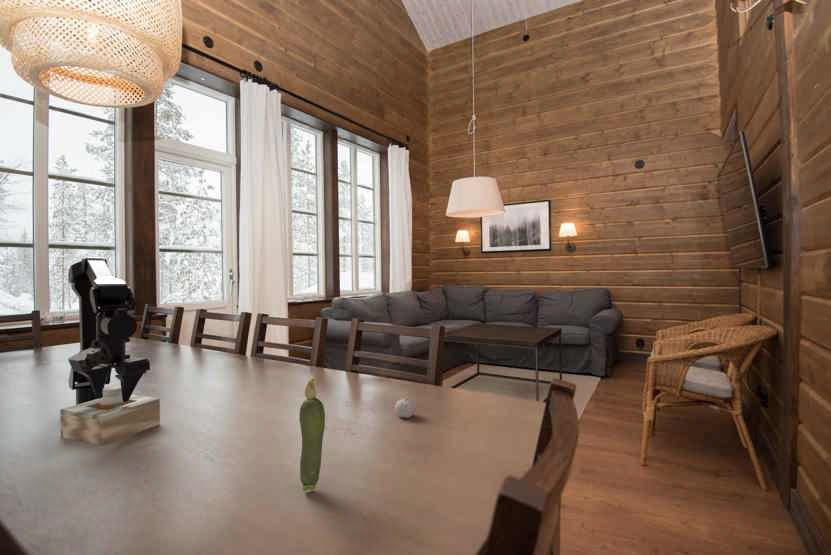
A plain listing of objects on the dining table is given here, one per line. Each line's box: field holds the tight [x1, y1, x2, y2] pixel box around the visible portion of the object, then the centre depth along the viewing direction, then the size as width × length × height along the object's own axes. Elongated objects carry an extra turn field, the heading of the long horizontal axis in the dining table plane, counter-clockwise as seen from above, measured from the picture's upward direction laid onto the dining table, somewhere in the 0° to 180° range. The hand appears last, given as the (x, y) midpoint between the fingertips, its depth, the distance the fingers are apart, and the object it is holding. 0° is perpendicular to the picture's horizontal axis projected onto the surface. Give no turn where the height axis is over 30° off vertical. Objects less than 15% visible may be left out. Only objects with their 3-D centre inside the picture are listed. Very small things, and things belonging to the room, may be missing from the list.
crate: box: [59, 394, 161, 446], centre depth 104 cm, size 14×14×6 cm
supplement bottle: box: [99, 385, 126, 410], centre depth 104 cm, size 5×5×10 cm
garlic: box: [394, 397, 416, 419], centre depth 114 cm, size 6×5×5 cm
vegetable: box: [299, 378, 326, 492], centre depth 76 cm, size 4×4×20 cm
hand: (111, 399), depth 104 cm, fingers open, 9 cm apart
